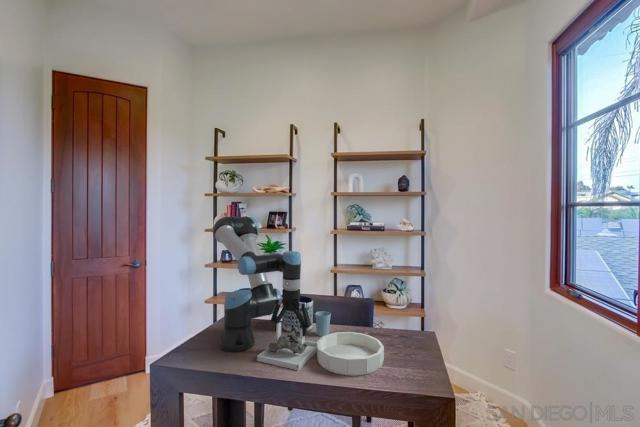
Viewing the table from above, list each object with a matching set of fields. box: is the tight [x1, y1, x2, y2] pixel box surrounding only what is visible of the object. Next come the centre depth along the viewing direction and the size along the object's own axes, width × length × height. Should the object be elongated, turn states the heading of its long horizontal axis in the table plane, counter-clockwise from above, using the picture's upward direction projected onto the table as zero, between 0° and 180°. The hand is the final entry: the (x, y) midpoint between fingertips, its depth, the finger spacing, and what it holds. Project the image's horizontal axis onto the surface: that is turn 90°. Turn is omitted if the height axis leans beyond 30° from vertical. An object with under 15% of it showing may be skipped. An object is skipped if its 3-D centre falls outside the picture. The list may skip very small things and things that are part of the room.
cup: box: [314, 310, 332, 338], centre depth 152 cm, size 8×8×10 cm
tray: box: [256, 338, 317, 371], centre depth 130 cm, size 19×22×2 cm
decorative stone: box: [268, 328, 307, 354], centre depth 130 cm, size 16×9×10 cm, turn 83°
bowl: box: [316, 331, 385, 377], centre depth 126 cm, size 26×26×6 cm
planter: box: [281, 295, 314, 333], centre depth 162 cm, size 16×16×14 cm
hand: (290, 340), depth 131 cm, fingers closed on decorative stone, 11 cm apart
